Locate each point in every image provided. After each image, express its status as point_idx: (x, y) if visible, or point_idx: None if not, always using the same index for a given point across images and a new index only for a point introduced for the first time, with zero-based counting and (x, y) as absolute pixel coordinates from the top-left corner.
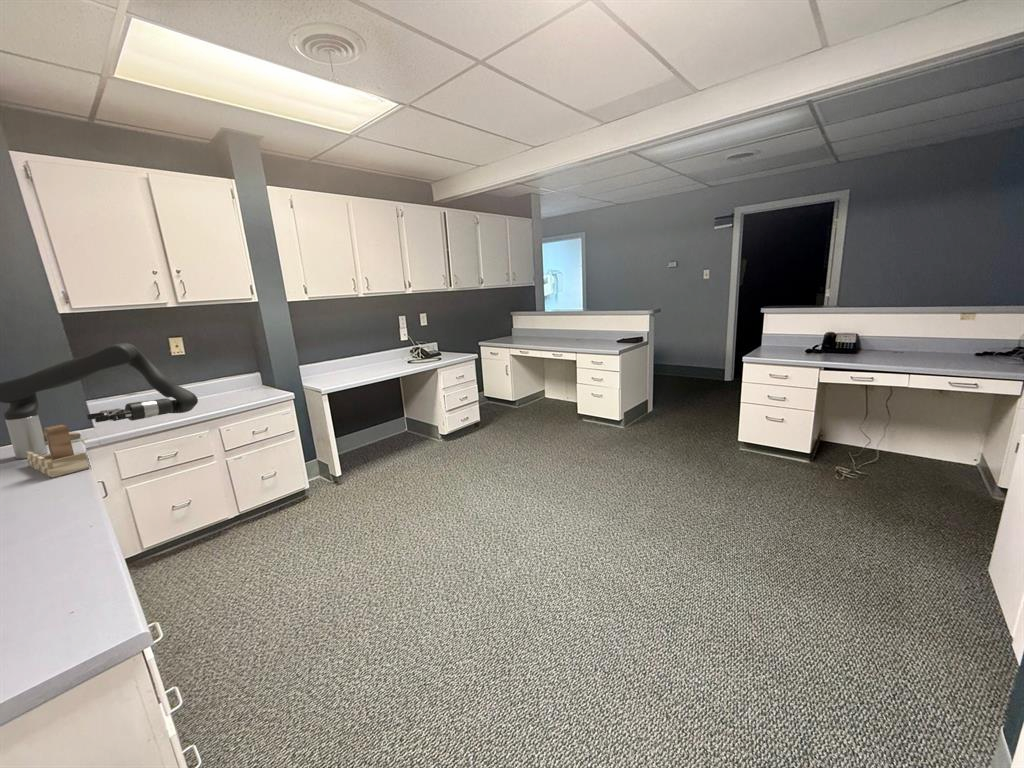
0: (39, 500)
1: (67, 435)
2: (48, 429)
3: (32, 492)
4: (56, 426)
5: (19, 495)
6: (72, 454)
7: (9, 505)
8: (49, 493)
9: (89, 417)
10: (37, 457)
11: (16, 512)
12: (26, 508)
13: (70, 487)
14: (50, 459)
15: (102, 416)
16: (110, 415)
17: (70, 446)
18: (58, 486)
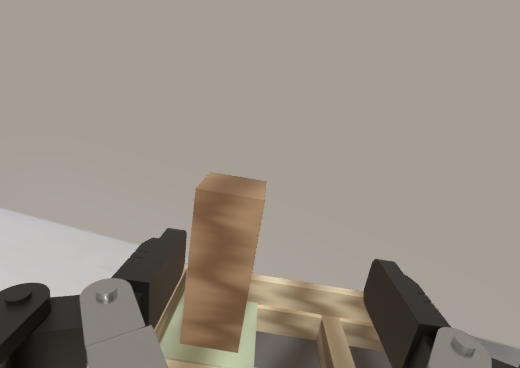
0: (27, 243)
1: (192, 230)
2: (210, 172)
3: (108, 260)
4: (246, 188)
5: (123, 251)
6: (183, 312)
7: (81, 230)
8: (43, 261)
9: (368, 284)
10: (291, 280)
11: (22, 219)
12: (16, 226)
13: (9, 285)
14: (335, 338)
15: (149, 256)
16: (88, 296)
17: (188, 280)
18: (68, 284)
